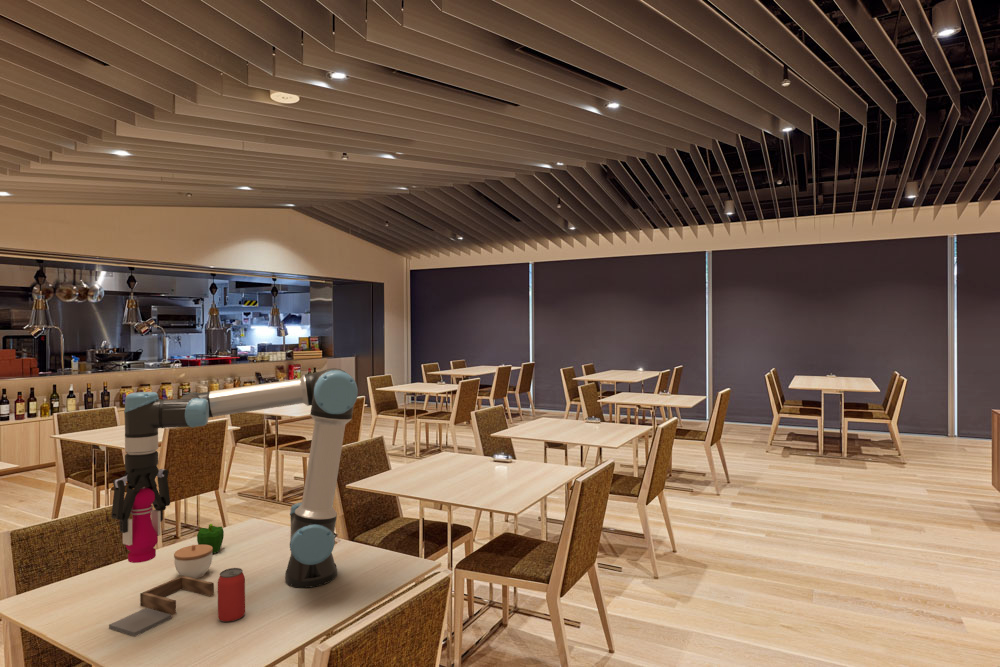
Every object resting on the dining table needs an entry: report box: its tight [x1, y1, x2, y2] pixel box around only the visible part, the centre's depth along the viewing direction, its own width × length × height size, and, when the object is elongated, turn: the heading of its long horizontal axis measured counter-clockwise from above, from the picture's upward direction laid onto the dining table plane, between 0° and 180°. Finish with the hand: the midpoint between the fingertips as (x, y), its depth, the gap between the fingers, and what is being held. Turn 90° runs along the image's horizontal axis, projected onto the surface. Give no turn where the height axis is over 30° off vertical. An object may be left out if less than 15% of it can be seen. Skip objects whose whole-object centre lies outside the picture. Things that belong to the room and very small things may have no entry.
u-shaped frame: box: [139, 575, 215, 616], centre depth 169 cm, size 13×13×4 cm
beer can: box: [217, 567, 246, 623], centre depth 159 cm, size 7×7×12 cm
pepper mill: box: [125, 487, 159, 564], centre depth 157 cm, size 7×7×20 cm
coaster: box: [108, 607, 173, 637], centre depth 156 cm, size 10×10×1 cm
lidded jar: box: [173, 544, 213, 579], centre depth 186 cm, size 11×11×9 cm
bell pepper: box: [196, 523, 225, 554], centre depth 206 cm, size 8×8×10 cm
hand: (142, 539), depth 157 cm, fingers closed on pepper mill, 7 cm apart
